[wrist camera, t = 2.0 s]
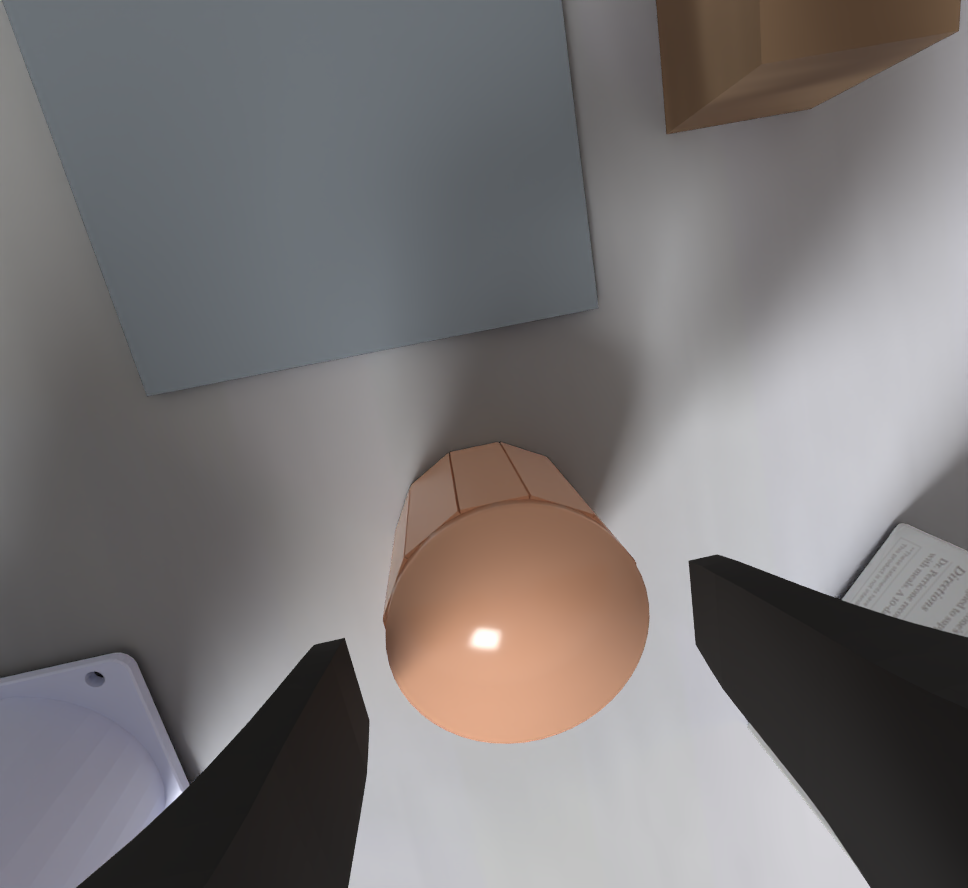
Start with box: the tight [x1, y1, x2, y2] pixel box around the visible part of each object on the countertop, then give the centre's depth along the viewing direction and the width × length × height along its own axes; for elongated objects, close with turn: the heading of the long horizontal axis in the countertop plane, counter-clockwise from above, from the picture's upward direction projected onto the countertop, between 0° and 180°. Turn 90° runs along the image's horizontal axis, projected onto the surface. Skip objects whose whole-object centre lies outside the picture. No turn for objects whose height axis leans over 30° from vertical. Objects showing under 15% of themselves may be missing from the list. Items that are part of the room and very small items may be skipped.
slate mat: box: [2, 0, 598, 396], centre depth 12 cm, size 12×12×1 cm
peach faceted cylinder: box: [383, 442, 649, 744], centre depth 13 cm, size 6×6×5 cm
